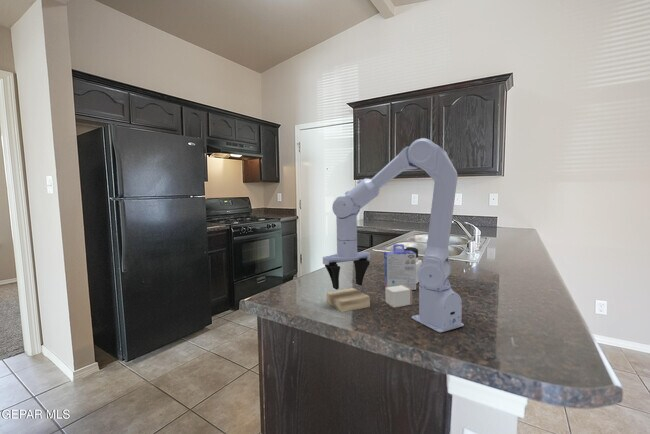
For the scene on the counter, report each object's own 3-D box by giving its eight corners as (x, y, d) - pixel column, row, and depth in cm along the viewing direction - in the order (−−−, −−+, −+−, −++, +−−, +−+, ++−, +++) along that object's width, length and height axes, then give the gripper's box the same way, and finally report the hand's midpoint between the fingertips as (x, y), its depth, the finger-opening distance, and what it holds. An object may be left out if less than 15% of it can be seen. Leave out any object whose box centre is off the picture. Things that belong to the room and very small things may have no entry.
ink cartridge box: (412, 285, 105) (412, 243, 104) (417, 290, 99) (417, 246, 98) (383, 285, 105) (383, 244, 104) (386, 291, 99) (386, 246, 98)
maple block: (369, 306, 85) (369, 296, 85) (341, 312, 82) (341, 301, 81) (353, 297, 94) (353, 287, 93) (326, 302, 90) (326, 292, 89)
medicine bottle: (422, 279, 111) (422, 247, 111) (416, 284, 105) (416, 250, 105) (402, 277, 115) (402, 245, 114) (396, 281, 109) (396, 248, 108)
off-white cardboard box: (393, 308, 85) (412, 304, 86) (393, 291, 84) (412, 289, 86) (385, 302, 89) (403, 299, 91) (385, 287, 89) (403, 284, 90)
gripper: (360, 235, 93) (361, 279, 94) (317, 239, 87) (318, 286, 88) (374, 238, 87) (374, 285, 88) (328, 242, 80) (329, 293, 81)
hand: (347, 286), depth 87 cm, fingers open, 7 cm apart
